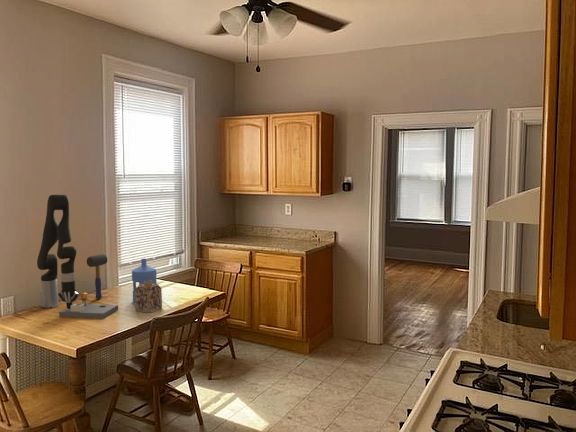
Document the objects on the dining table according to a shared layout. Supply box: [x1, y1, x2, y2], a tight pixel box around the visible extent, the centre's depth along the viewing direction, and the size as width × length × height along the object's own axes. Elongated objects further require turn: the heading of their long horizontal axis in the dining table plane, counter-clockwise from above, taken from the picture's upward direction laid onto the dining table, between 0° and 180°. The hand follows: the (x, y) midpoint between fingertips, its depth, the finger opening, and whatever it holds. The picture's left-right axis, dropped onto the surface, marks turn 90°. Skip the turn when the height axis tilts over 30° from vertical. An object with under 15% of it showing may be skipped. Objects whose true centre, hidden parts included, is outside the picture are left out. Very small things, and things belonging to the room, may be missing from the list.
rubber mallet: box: [86, 253, 108, 300], centre depth 337 cm, size 12×8×30 cm, turn 152°
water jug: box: [131, 258, 158, 304], centre depth 331 cm, size 16×16×28 cm
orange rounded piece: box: [79, 291, 88, 306], centre depth 310 cm, size 4×4×8 cm
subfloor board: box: [58, 303, 119, 319], centre depth 305 cm, size 28×18×3 cm, turn 82°
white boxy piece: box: [70, 303, 85, 312], centre depth 300 cm, size 6×5×4 cm
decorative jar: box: [134, 281, 163, 314], centre depth 311 cm, size 12×12×18 cm
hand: (69, 308), depth 301 cm, fingers closed
